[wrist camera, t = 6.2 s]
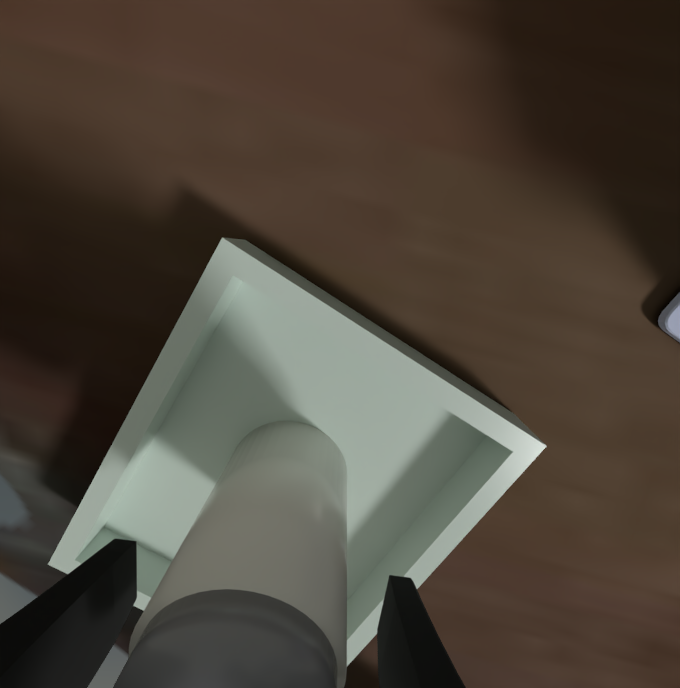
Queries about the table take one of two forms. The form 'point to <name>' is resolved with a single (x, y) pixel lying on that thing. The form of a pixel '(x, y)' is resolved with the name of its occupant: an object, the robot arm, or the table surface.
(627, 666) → the table surface
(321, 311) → the tray
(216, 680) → the shaker
